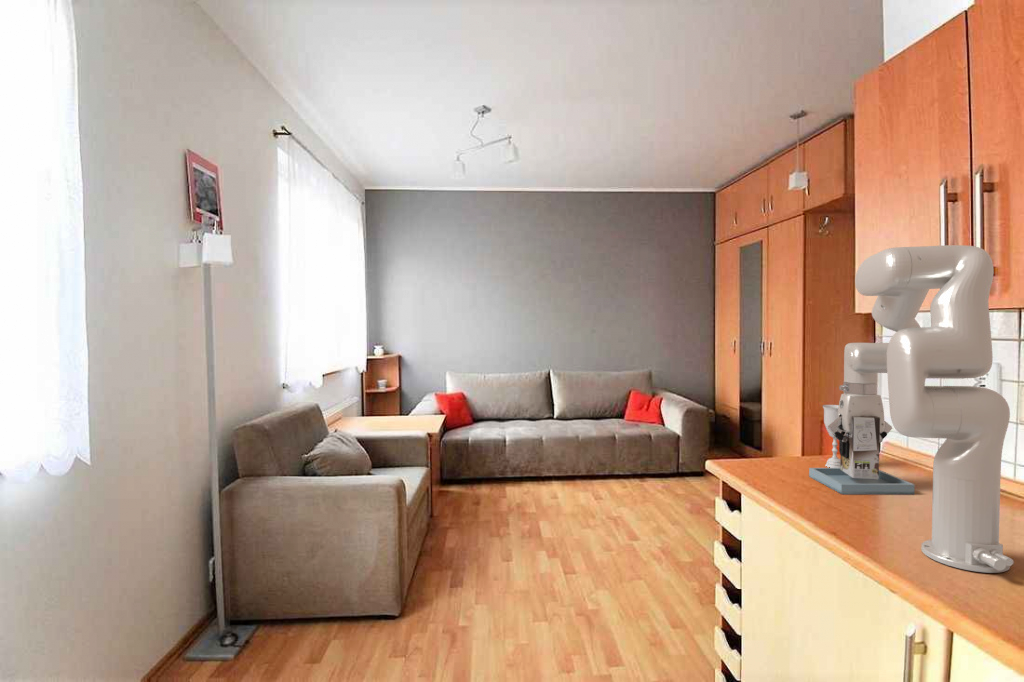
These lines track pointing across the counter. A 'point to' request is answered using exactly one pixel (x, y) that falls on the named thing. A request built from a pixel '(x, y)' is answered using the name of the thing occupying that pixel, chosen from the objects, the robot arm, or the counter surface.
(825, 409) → the chalice
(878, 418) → the coffee box
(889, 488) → the tray
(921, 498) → the counter surface
